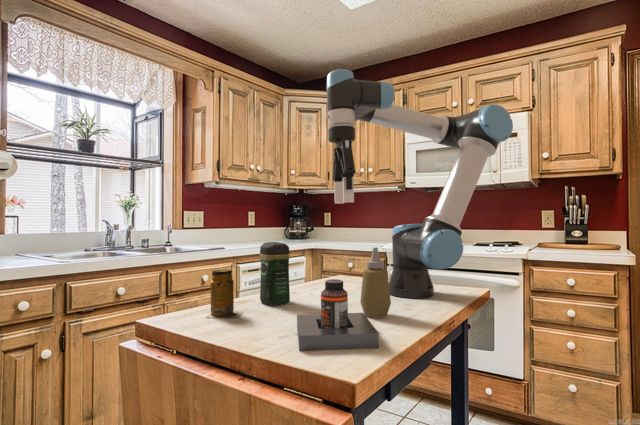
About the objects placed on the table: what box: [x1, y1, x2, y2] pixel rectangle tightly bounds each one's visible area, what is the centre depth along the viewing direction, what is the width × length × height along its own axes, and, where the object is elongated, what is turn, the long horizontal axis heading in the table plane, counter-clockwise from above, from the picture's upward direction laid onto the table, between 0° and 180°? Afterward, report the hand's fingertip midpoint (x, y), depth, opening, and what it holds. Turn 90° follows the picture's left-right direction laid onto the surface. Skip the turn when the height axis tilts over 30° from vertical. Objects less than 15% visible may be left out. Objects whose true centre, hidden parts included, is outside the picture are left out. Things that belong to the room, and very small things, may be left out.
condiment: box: [206, 268, 244, 319], centre depth 104 cm, size 7×8×12 cm
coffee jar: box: [259, 241, 291, 307], centre depth 117 cm, size 10×8×19 cm
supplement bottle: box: [320, 278, 349, 329], centre depth 85 cm, size 6×6×11 cm
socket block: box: [296, 312, 380, 352], centre depth 85 cm, size 16×16×3 cm
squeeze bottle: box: [359, 247, 392, 319], centre depth 102 cm, size 8×8×18 cm
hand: (343, 203), depth 108 cm, fingers open, 13 cm apart
